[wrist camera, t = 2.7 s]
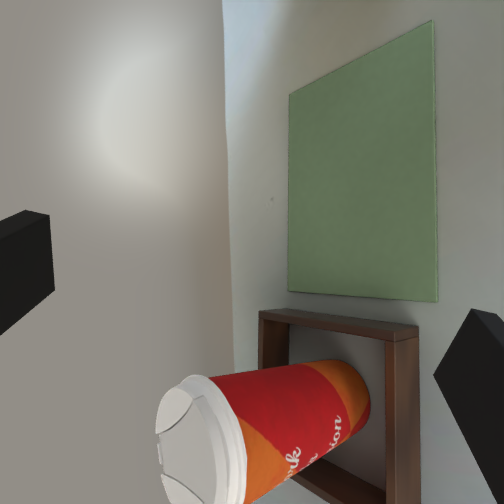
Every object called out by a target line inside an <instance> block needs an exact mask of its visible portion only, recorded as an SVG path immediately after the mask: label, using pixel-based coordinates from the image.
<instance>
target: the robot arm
mask: <svg viewBox="0 0 504 504" xmlns="http://www.w3.org/2000/svg"><path fill="white" fill-rule="evenodd" d="M53 291H55V286H54V272H53V259H52V244H51V230H50V217H49V215H46V214H41V213H37V212H32V211H28V210H24V211H22V212H19V213H17V214H15V215H13V216H10V217H8V218H6V219H4V220H1V221H0V335H2V334H3V333H4V332H5V331H6V330H8V329H9V328H10V327H11V326H12V325H14V324H15V323H16V322H17V321H18V320H20V319H21V318H22V317H23V316H24V315H26V314H27V313H28V312H29V311H30V310H32V309H33V308H34V307H35V306H36V305H38V304H39V303H40V302H41V301H42V300H44V299H45V298H46V297H47V296H49V295H50V294H51V293H52V292H53ZM433 376H434V378H435V380H436V382H437V384H438V386H439V388H440V390H441V392H442V394H443V396H444V398H445V400H446V402H447V404H448V406H449V408H450V410H451V412H452V414H453V416H454V418H455V420H456V422H457V424H458V426H459V428H460V430H461V432H462V434H463V436H464V438H465V440H466V442H467V444H468V446H469V448H470V450H471V452H472V454H473V456H474V458H475V460H476V462H477V464H478V466H479V468H480V470H481V472H482V474H483V476H484V478H485V480H486V482H487V484H488V486H489V488H490V490H491V492H492V494H493V496H494V498H495V500H496V502H497V504H504V322H503V321H502V319H501V318H500V317H499V316H498V315H497V314H494V313H490V312H485V311H481V310H476V309H472V308H471V310H470V312H469V313H468V315H467V317H466V319H465V320H464V322H463V324H462V326H461V327H460V329H459V331H458V333H457V334H456V336H455V338H454V340H453V341H452V343H451V345H450V346H449V348H448V350H447V352H446V353H445V355H444V357H443V359H442V360H441V362H440V364H439V366H438V367H437V369H436V371H435V373H434V374H433Z"/></svg>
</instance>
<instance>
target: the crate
mask: <svg viewBox="0 0 504 504" xmlns="http://www.w3.org/2000/svg"><path fill="white" fill-rule="evenodd" d="M289 323H290V324H295V325H301V326H307V327H312V328H318V329H324V330H330V331H335V332H341V333H347V334H352V335H358V336H364V337H369V338H375V339H381V340H386V341H385V399H386V493H385V492H384V491H382V490H380V489H378V488H376V487H374V486H372V485H371V484H369V483H367V482H365V481H363V480H361V479H359V478H358V477H356V476H354V475H352V474H350V473H348V472H346V471H344V470H343V469H341V468H339V467H337V466H335V465H333V464H331V463H330V462H328V461H326V460H324V459H322V458H319V459H317V460H316V461H314V462H313V463H311V464H310V465H308V466H307V467H305V468H304V469H302V470H301V471H299V472H298V473H296V474H295V475H293V476H292V477H290V478H291V479H293V480H294V481H296V482H297V483H299V484H300V485H302V486H303V487H305V488H306V489H308V490H310V491H311V492H313V493H314V494H316V495H317V496H319V497H320V498H322V499H323V500H325V501H327V502H328V503H330V504H421V471H420V387H419V327H418V326H413V325H405V324H397V323H390V322H382V321H375V320H367V319H360V318H352V317H345V316H337V315H329V314H322V313H314V312H307V311H299V310H292V309H273V310H262V311H259V324H258V370H260V369H267V368H273V367H280V366H286V365H289Z"/></svg>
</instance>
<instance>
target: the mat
mask: <svg viewBox="0 0 504 504" xmlns="http://www.w3.org/2000/svg"><path fill="white" fill-rule="evenodd" d="M288 291H294V292H307V293H320V294H333V295H346V296H359V297H372V298H385V299H398V300H411V301H424V302H438V276H437V208H436V140H435V73H434V22H433V20H431V21H429V22H427V23H425V24H423V25H421V26H420V27H418V28H416V29H414V30H412V31H410V32H408V33H406V34H404V35H402V36H401V37H399V38H397V39H395V40H393V41H391V42H389V43H387V44H385V45H383V46H381V47H380V48H378V49H376V50H374V51H372V52H370V53H368V54H366V55H364V56H362V57H360V58H359V59H357V60H355V61H353V62H351V63H349V64H347V65H345V66H343V67H341V68H340V69H338V70H336V71H334V72H332V73H330V74H328V75H326V76H324V77H322V78H320V79H319V80H317V81H315V82H313V83H311V84H309V85H307V86H305V87H303V88H301V89H300V90H298V91H296V92H294V93H292V94H290V95H289V176H288Z"/></svg>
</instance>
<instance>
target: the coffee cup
mask: <svg viewBox="0 0 504 504" xmlns="http://www.w3.org/2000/svg"><path fill="white" fill-rule="evenodd" d="M369 415H370V397H369V393H368V390H367V387H366V385H365V383H364V381H363V379H362V378H361V376H360V375H359V374H358V372H357V371H356V370H355V369H354V368H353V367H351V366H350V365H349V364H347V363H345V362H343V361H340V360H321V361H313V362H306V363H299V364H293V365H286V366H280V367H273V368H267V369H260V370H254V371H248V372H241V373H235V374H229V375H222V376H216V377H210V378H207V377H205V376H203V375H198V374H195V375H190V376H188V377H186V378H185V379H184V380H183V381H182V382H181V383H180V384H179V385H177V386H175V387H173V388H171V389H170V390H169V391H168V392H167V393H166V394H165V395H164V397H163V398H162V400H161V403H160V405H159V409H158V413H157V418H156V432H155V433H156V434H157V433H161V432H163V434H160V435H159V440H160V443H158V444H157V447H158V455H159V463H160V465H161V464H163V470H164V473H162V474H161V478H162V482H163V485H164V488H165V491H166V494H167V496H168V498H169V501H170V503H171V504H251V503H252V502H254V501H255V500H257V499H258V498H260V497H261V496H263V495H264V494H266V493H267V492H269V491H270V490H272V489H273V488H275V487H276V486H278V485H279V484H281V483H282V482H284V481H285V480H287V479H288V478H290V477H292V476H293V475H295V474H296V473H298V472H299V471H301V470H302V469H304V468H305V467H307V466H308V465H310V464H311V463H313V462H314V461H316V460H317V459H319V458H320V457H322V456H323V455H325V454H326V453H328V452H329V451H331V450H332V449H334V448H335V447H337V446H338V445H340V444H341V443H343V442H344V441H346V440H347V439H348V438H350V437H351V436H353V435H354V434H356V433H357V432H358V431H359V430H360V429H362V428H363V426H364V425H365V424H366V422H367V420H368V418H369Z"/></svg>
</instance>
